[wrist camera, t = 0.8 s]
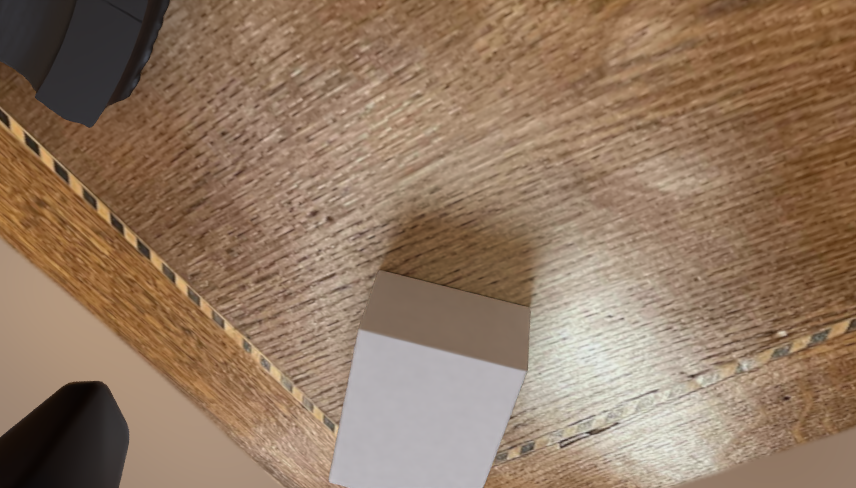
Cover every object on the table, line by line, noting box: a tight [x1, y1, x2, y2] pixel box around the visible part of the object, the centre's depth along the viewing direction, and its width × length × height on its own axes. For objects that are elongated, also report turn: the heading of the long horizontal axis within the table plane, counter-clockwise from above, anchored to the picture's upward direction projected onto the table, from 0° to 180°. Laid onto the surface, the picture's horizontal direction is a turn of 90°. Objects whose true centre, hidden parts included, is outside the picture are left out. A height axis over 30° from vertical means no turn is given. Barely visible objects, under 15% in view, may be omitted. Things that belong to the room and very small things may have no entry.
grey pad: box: [329, 270, 531, 488], centre depth 25 cm, size 7×5×3 cm
